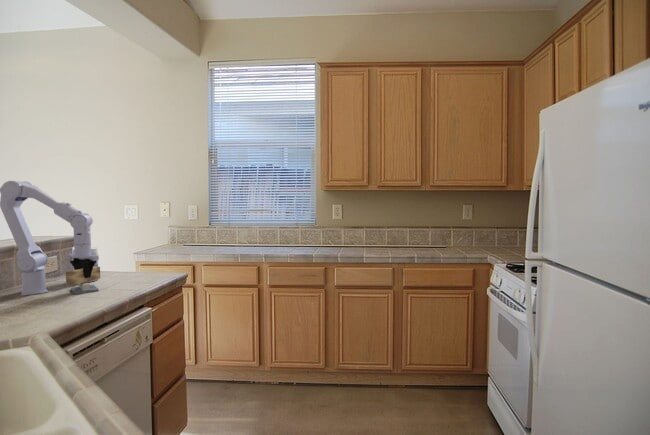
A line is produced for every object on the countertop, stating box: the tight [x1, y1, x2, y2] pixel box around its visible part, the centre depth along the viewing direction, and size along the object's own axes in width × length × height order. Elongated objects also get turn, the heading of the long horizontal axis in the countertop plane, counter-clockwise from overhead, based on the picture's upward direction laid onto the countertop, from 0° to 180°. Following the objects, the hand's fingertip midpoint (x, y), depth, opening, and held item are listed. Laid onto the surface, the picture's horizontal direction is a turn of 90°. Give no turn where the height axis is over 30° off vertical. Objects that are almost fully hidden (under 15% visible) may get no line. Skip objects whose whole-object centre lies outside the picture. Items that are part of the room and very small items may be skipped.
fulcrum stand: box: [70, 282, 99, 295], centre depth 150 cm, size 10×8×3 cm
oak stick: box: [65, 266, 101, 286], centre depth 149 cm, size 12×3×5 cm, turn 161°
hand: (83, 277), depth 149 cm, fingers closed on oak stick, 3 cm apart
